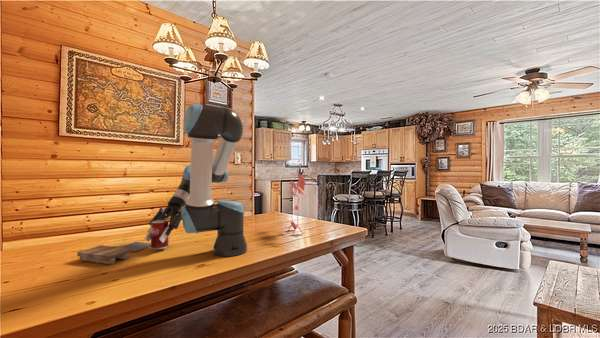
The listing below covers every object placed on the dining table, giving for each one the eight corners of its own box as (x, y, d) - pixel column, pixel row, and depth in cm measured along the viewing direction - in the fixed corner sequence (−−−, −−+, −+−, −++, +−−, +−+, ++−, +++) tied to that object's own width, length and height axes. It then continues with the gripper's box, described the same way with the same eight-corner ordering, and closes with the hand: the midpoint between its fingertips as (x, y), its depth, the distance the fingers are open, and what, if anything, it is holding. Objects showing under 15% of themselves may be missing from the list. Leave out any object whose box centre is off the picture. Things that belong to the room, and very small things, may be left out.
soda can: (153, 250, 120) (153, 223, 120) (149, 246, 126) (149, 221, 126) (170, 247, 125) (170, 221, 125) (166, 244, 130) (166, 219, 130)
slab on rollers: (130, 257, 115) (130, 248, 115) (108, 266, 105) (108, 256, 105) (101, 254, 119) (101, 245, 119) (77, 261, 109) (77, 252, 109)
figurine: (295, 238, 147) (297, 174, 146) (282, 228, 171) (284, 172, 171) (321, 237, 152) (323, 174, 151) (305, 227, 176) (307, 173, 176)
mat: (155, 244, 133) (155, 243, 133) (134, 252, 122) (134, 251, 122) (136, 242, 136) (136, 241, 136) (114, 250, 125) (114, 248, 125)
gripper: (199, 205, 137) (177, 246, 122) (166, 204, 143) (140, 243, 127) (192, 196, 132) (168, 237, 117) (158, 195, 137) (131, 234, 122)
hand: (154, 240), depth 122 cm, fingers closed on soda can, 7 cm apart
